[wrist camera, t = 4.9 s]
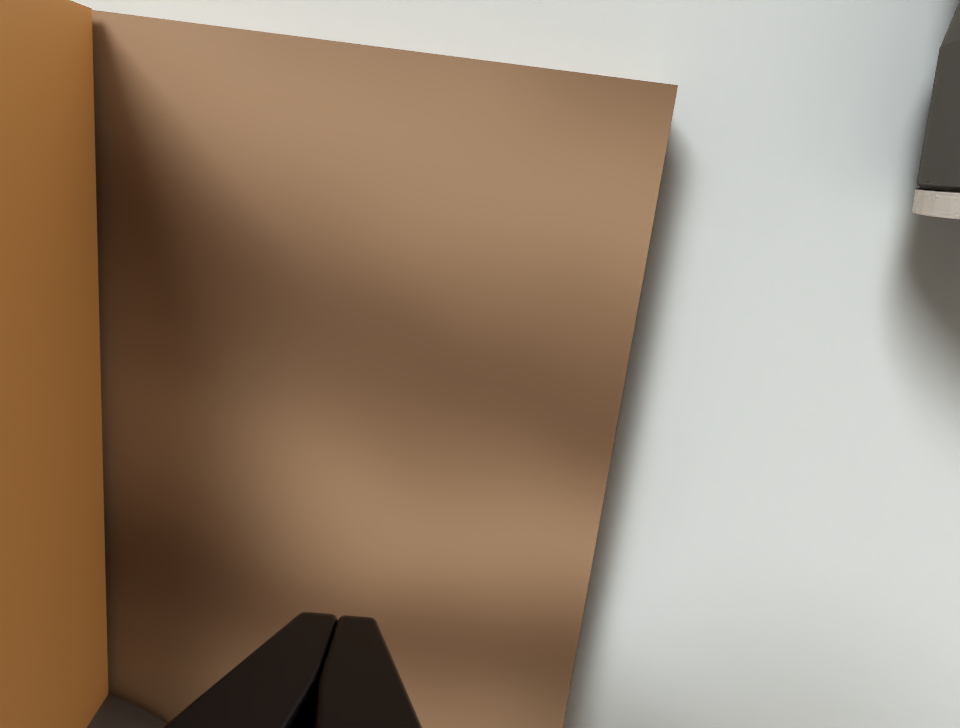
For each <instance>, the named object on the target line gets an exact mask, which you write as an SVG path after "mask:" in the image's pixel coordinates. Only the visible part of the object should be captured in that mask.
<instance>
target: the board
mask: <svg viewBox="0 0 960 728" xmlns="http://www.w3.org/2000/svg"><path fill="white" fill-rule="evenodd" d="M92 40H93V81H94V122H95V163H96V204H97V245H98V287H99V328H100V369H101V410H102V451H103V492H104V533H105V574H106V616H107V657H108V694H110V695H113V696H116V697H119V698H121V699H124V700H126V701H128V702H131V703H133V704H135V705H137V706H139V707H141V708H143V709H145V710H147V711H148V712H150V713H151V714H153V715H155V716H156V717H158V718H159V719H161V720H162V721H164V722H165V723H166V724H167V723H168V722H169V721H171V720H172V719H173V718H174V717H175V716H177V715H178V714H179V713H180V712H181V711H183V710H184V709H185V708H186V707H187V706H189V705H190V704H191V703H192V702H193V701H195V700H196V699H197V698H198V697H199V696H201V695H202V694H203V693H204V692H206V691H207V690H208V689H209V688H210V687H212V686H213V685H214V684H215V683H216V682H218V681H219V680H220V679H221V678H222V677H224V676H225V675H226V674H227V673H228V672H230V671H231V670H232V669H233V668H234V667H236V666H237V665H238V664H239V663H241V662H242V661H243V660H244V659H245V658H247V657H248V656H249V655H250V654H251V653H253V652H254V651H255V650H256V649H257V648H259V647H260V646H261V645H262V644H263V643H265V642H266V641H267V640H268V639H269V638H271V637H272V636H273V635H274V634H276V633H277V632H278V631H279V630H280V629H282V628H283V627H284V626H285V625H286V624H288V623H289V622H290V621H291V620H292V619H294V618H295V617H296V616H297V615H299V614H300V613H302V612H316V613H328V614H334V615H335V616H337V619H339V618H340V617H341V616H343V615H351V616H363V617H372V618H374V619H375V620H376V621H377V623H378V625H379V628H380V630H381V632H382V635H383V637H384V640H385V642H386V644H387V647H388V649H389V651H390V654H391V656H392V658H393V661H394V663H395V665H396V668H397V670H398V672H399V675H400V677H401V679H402V682H403V684H404V686H405V689H406V691H407V693H408V696H409V698H410V700H411V703H412V705H413V707H414V710H415V712H416V714H417V717H418V719H419V721H420V724H421V726H422V728H563V724H564V719H565V713H566V707H567V702H568V696H569V691H570V685H571V679H572V674H573V668H574V663H575V657H576V652H577V646H578V640H579V635H580V629H581V624H582V618H583V612H584V607H585V601H586V596H587V590H588V584H589V579H590V573H591V568H592V562H593V557H594V551H595V545H596V540H597V534H598V529H599V523H600V517H601V512H602V506H603V501H604V495H605V489H606V484H607V478H608V473H609V467H610V462H611V456H612V450H613V445H614V439H615V434H616V428H617V422H618V417H619V411H620V406H621V400H622V394H623V389H624V383H625V378H626V372H627V366H628V361H629V355H630V350H631V344H632V339H633V333H634V327H635V322H636V316H637V311H638V305H639V299H640V294H641V288H642V283H643V277H644V271H645V266H646V260H647V255H648V249H649V244H650V238H651V232H652V227H653V221H654V216H655V210H656V204H657V199H658V193H659V188H660V182H661V176H662V171H663V165H664V160H665V154H666V149H667V143H668V137H669V132H670V126H671V121H672V115H673V109H674V104H675V98H676V93H677V87H678V85H671V84H663V83H655V82H648V81H640V80H632V79H624V78H616V77H609V76H601V75H593V74H585V73H578V72H570V71H562V70H554V69H546V68H539V67H531V66H523V65H515V64H508V63H500V62H492V61H484V60H476V59H469V58H461V57H453V56H445V55H438V54H430V53H422V52H414V51H406V50H399V49H391V48H383V47H375V46H368V45H360V44H352V43H344V42H336V41H329V40H321V39H313V38H305V37H298V36H290V35H282V34H274V33H266V32H259V31H251V30H243V29H235V28H228V27H220V26H212V25H204V24H196V23H189V22H181V21H173V20H165V19H158V18H150V17H142V16H134V15H126V14H119V13H111V12H103V11H95V10H92Z"/></svg>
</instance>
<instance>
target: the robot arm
mask: <svg viewBox="0 0 960 728" xmlns="http://www.w3.org/2000/svg"><path fill="white" fill-rule="evenodd" d="M162 728H422V726H421V724H420V721H419V719H418V717H417V714H416V712H415V710H414V707H413V705H412V703H411V700H410V698H409V696H408V693H407V691H406V689H405V686H404V684H403V682H402V679H401V677H400V675H399V672H398V670H397V668H396V665H395V663H394V661H393V658H392V656H391V654H390V651H389V649H388V647H387V644H386V642H385V640H384V637H383V635H382V632H381V630H380V628H379V625H378V623H377V621H376V620H375V619H374V618H372V617H363V616H351V615H343V616H341V617H340V618H339V619H337V616H335V615H334V614H328V613H316V612H302V613H300V614H299V615H297V616H296V617H295V618H294V619H292V620H291V621H290V622H289V623H288V624H286V625H285V626H284V627H283V628H282V629H280V630H279V631H278V632H277V633H276V634H274V635H273V636H272V637H271V638H269V639H268V640H267V641H266V642H265V643H263V644H262V645H261V646H260V647H259V648H257V649H256V650H255V651H254V652H253V653H251V654H250V655H249V656H248V657H247V658H245V659H244V660H243V661H242V662H241V663H239V664H238V665H237V666H236V667H234V668H233V669H232V670H231V671H230V672H228V673H227V674H226V675H225V676H224V677H222V678H221V679H220V680H219V681H218V682H216V683H215V684H214V685H213V686H212V687H210V688H209V689H208V690H207V691H206V692H204V693H203V694H202V695H201V696H199V697H198V698H197V699H196V700H195V701H193V702H192V703H191V704H190V705H189V706H187V707H186V708H185V709H184V710H183V711H181V712H180V713H179V714H178V715H177V716H175V717H174V718H173V719H172V720H171V721H169V722H168V723H167V724H166V725H164V726H163V727H162Z"/></svg>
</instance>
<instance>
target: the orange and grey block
mask: <svg viewBox="0 0 960 728" xmlns="http://www.w3.org/2000/svg"><path fill="white" fill-rule="evenodd" d="M164 725H166V723H165V722H164V721H162V720H161V719H159V718H158V717H156V716H155V715H153V714H151V713H150V712H148V711H147V710H145V709H143V708H141V707H139V706H137V705H135V704H133V703H131V702H128V701H126V700H124V699H121V698H119V697H116V696H113V695H110V694H108V657H107V616H106V574H105V533H104V492H103V451H102V410H101V369H100V328H99V287H98V245H97V204H96V163H95V122H94V81H93V40H92V9H91V8H89V7H86V6H83V5H81V4H78V3H75V2H73V1H70V0H0V728H162V727H163V726H164Z"/></svg>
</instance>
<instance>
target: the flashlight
mask: <svg viewBox="0 0 960 728" xmlns="http://www.w3.org/2000/svg"><path fill="white" fill-rule="evenodd" d="M917 184H918V185H919V186H920V187H921V188H917V189H916V190H915V196H914V202H913V208H912V212H913V213H914V214H920V215H925V216H931V217H940V218H949V219H959V220H960V3H959V5H958V7H957V10H956V12H955V14H954V17H953V19H952V21H951V24H950V26H949V28H948V31H947V33H946V35H945V38H944V40H943V42H942V45H941V47H940V50H939V56H938V62H937V67H936V73H935V79H934V85H933V91H932V97H931V103H930V109H929V115H928V121H927V127H926V133H925V139H924V145H923V150H922V156H921V162H920V168H919V174H918V180H917Z"/></svg>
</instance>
